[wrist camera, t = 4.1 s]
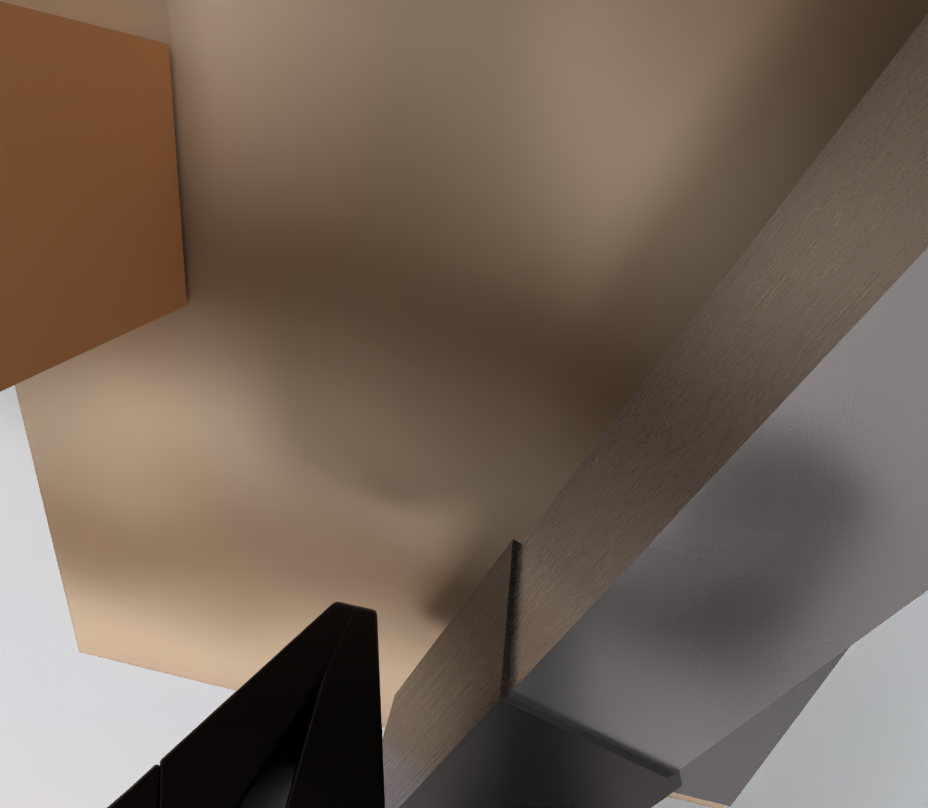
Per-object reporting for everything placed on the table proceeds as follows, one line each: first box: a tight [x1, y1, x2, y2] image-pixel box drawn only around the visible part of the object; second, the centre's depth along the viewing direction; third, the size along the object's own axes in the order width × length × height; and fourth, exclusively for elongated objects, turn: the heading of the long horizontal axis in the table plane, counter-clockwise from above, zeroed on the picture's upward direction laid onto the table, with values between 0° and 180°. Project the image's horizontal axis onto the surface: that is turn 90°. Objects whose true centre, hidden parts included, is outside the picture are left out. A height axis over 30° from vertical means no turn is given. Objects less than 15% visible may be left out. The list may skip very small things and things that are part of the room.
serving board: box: [0, 0, 928, 808], centre depth 10 cm, size 22×18×1 cm
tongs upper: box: [382, 14, 928, 808], centre depth 7 cm, size 16×3×3 cm, turn 153°
